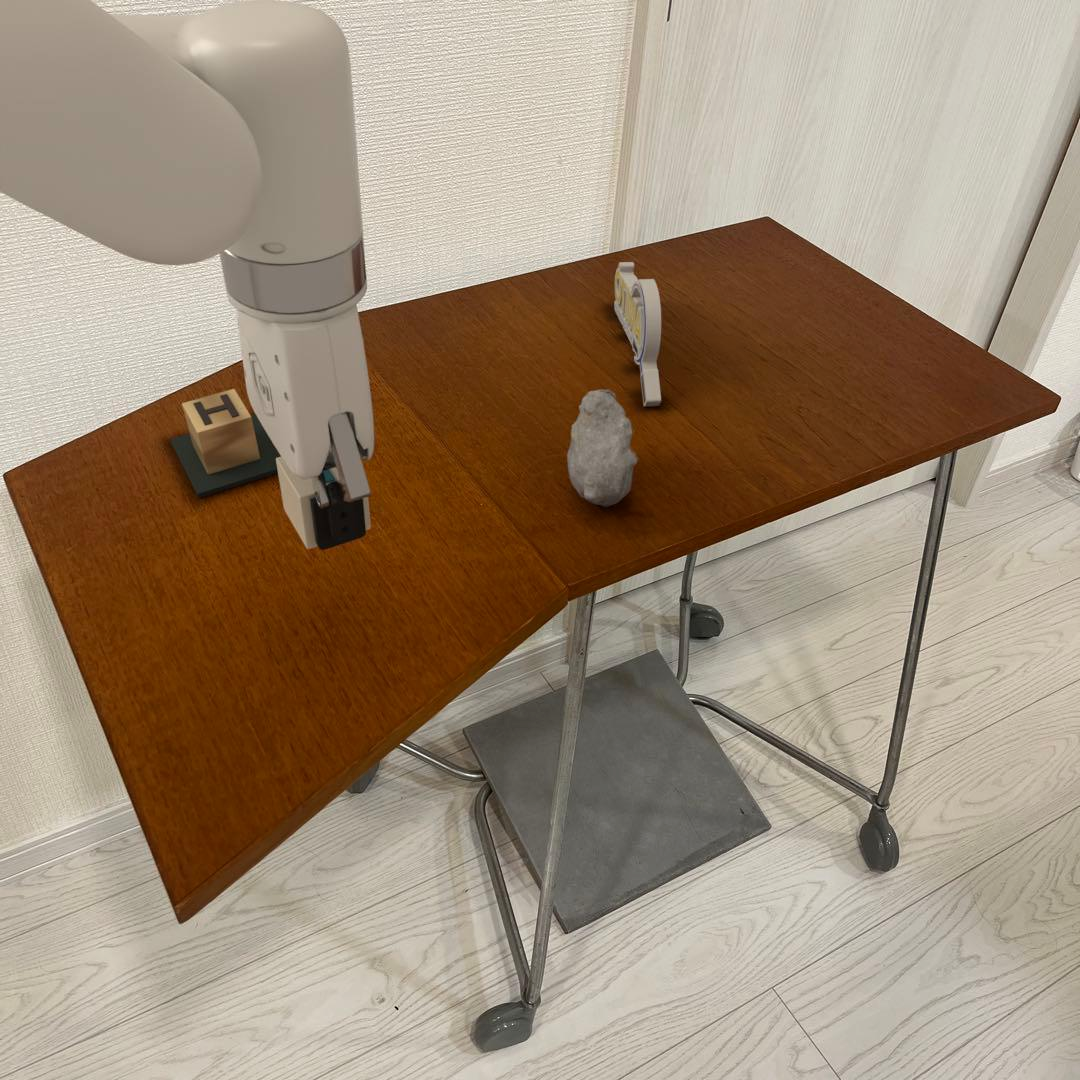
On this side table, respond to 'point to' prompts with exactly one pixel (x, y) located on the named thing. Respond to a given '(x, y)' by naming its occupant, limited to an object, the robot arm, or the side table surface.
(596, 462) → the stone
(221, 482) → the word mat
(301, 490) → the letter i
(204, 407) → the letter h
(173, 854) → the side table surface
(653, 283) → the decorative sign
